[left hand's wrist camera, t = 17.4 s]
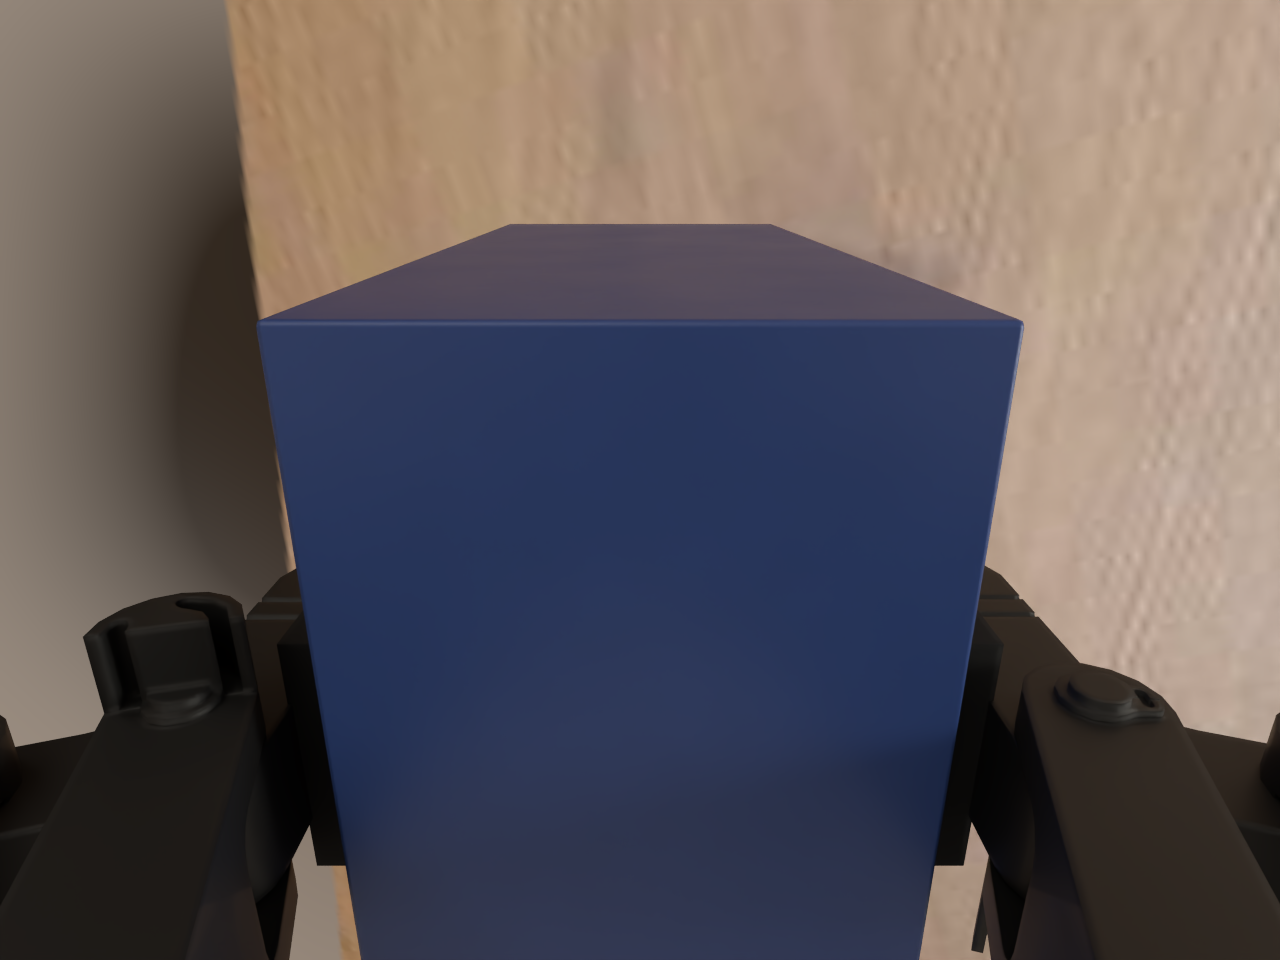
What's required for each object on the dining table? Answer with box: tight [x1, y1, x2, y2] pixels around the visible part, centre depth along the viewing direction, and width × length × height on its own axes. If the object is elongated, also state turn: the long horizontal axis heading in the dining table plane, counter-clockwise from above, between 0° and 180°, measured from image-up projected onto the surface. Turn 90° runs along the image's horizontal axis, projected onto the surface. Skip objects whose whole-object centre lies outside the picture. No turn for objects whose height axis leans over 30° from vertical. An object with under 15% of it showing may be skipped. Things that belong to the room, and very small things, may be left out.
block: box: [256, 224, 1024, 960], centre depth 13 cm, size 9×5×12 cm, turn 0°
